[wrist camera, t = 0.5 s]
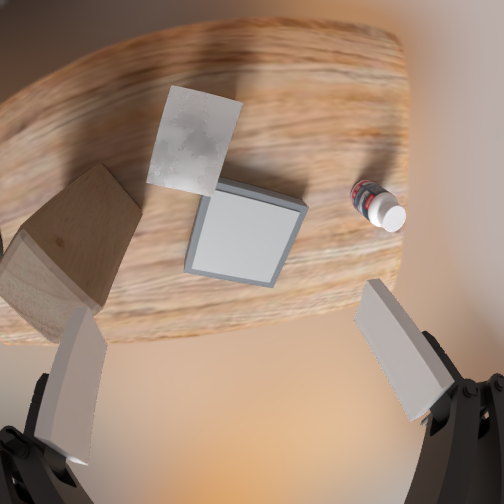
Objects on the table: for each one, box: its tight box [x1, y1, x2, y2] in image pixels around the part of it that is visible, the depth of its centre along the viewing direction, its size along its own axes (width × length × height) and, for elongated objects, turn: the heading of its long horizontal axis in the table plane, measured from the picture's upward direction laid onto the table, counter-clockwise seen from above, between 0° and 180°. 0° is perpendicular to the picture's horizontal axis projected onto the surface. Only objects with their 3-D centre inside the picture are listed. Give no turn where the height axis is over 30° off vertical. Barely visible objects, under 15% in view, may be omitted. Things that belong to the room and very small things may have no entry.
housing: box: [146, 85, 243, 197], centre depth 28 cm, size 7×10×9 cm
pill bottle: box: [350, 180, 406, 232], centre depth 36 cm, size 5×5×9 cm
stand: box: [184, 177, 309, 288], centre depth 39 cm, size 14×14×3 cm
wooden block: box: [0, 164, 143, 343], centre depth 26 cm, size 10×10×20 cm
